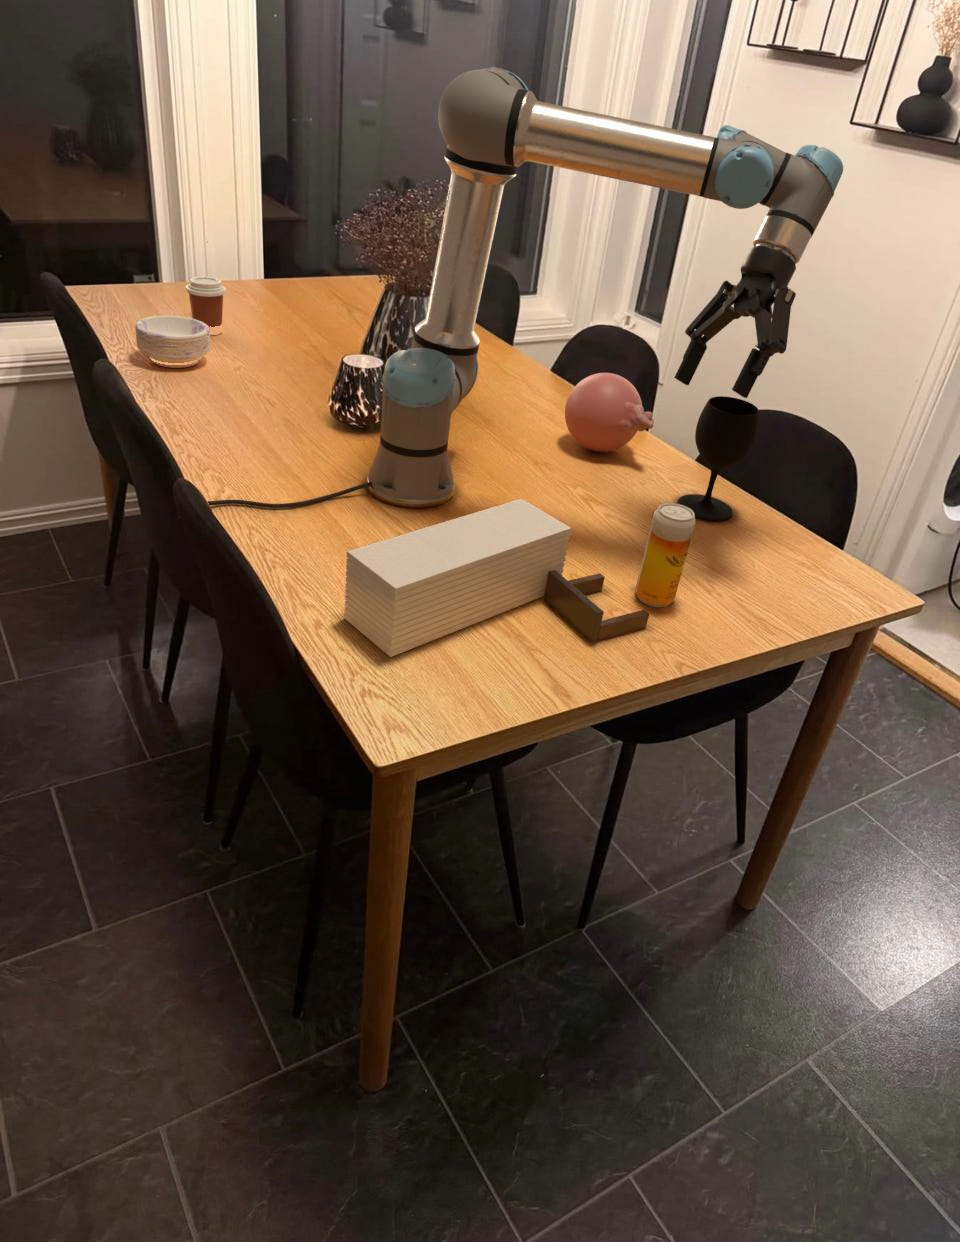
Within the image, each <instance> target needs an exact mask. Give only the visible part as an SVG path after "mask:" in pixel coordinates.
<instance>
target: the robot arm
mask: <svg viewBox="0 0 960 1242" xmlns="http://www.w3.org/2000/svg"><path fill="white" fill-rule="evenodd" d="M437 111H438V112H437V121H438V127H439V131H440V133H441V136H442V137H443V140H444V142H445V143H446V149H445V154H444V160H445V162H446V163H447V165H448V167H449V168H450V171H451V175H450V182H449V187H448V192H447V197H446V203H445V208H444V214H443V218H442V219H443V221H442V225H441V231H440V236H439V242H438V247H437V253H436V259H435V264H434V270H433V275H432V279H431V280H432V281H431V285H430V291H429V297H428V301H427V309H426V314H425V318H424V319H423V320H421V321H420V322H418V323H417V324H416V325H415V326H414V330H413V331H414V332H413V336H412V342H411V343H412V344H411V347H410V348H407V350H405V349H401V350H398V351H396V352H394V353H393V354H391V355H390V356H389V358H387V360H386V361H385V365H384V371H383V374H382V381H381V384H382V399H381V417H380V419H381V420H380V422H381V423H380V435H379V436H380V438H379V446H378V449H377V451H376V453H375V456H374V457H373V460H372V463H371V465H370V468H369V470H368V474H367V479H366V480H367V481H366V482H365V483H362V484H359V485H355V486H352V487H349V488H345V489H343V490H340V491H337V492H334V493H329V494H326V495H322V496H318V497H315V498H311V499H306V500H302V501H301V500H300V501H296V502H286V503H269V502H268V503H267V502H261V501H260V502H259V501H253V500H244V499H219V500H207V501H208V503H209V506H220V505H245V506H252V507H259V508H266V509H267V508H268V509H285V508H286V509H287V508H296V507H302V506H307V505H312V504H315V503H320V502H323V501H327V500H330V499H334V498H338V497H341V496H343V495H346V494H350V493H352V492H355V491H360V490H362V489H365V488H367V490H368V492H369V493H370V494H371V495H372V496H373V497H374V498H376V499H378V500H380V501H381V502H384V503H386V504H389V505H392V506H397V507H400V508H401V507H402V508H409V509H410V508H411V509H426V508H433V507H437V506H440V505H443V504H445V503H447V502H448V501H449V500H450V499H451V498H452V497H453V495H454V490H455V478H454V474H453V471H452V466H451V462H450V458H449V453H448V449H449V447H448V445H449V438H450V437H449V436H450V429H451V419H452V415H453V412H454V411H455V410H456V409H457V408H458V406H459V405H460V404H461V402H462V401H463V400H464V399H465V398H466V397H467V396H468V395H469V393H470V392H472V389H473V388H474V386H475V384H476V382H477V378H478V373H479V360H478V352H479V348H480V344H481V343H480V342H481V340H480V337H479V335H478V334H477V333H476V331H475V325H476V321H477V316H478V311H479V306H480V302H481V297H482V293H483V288H484V283H485V278H486V274H487V269H488V264H489V260H490V254H491V249H492V246H493V241H494V236H495V231H496V226H497V221H498V217H499V212H500V207H501V203H502V198H503V194H504V188H505V185H506V184H507V183H508V182H510V181H511V180H512V179H514V178H516V176H517V173H518V169H519V167H520V166H521V165H523V164H525V162H531V163H536V164H541V165H545V166H546V165H547V166H551V167H555V168H559V169H565V170H570V171H574V172H578V173H579V172H580V173H585V174H589V175H595V176H599V177H605V178H609V179H613V180H614V179H615V180H619V181H624V182H629V183H633V184H639V185H643V186H649V187H652V188H653V187H654V188H657V189H663V190H668V191H673V192H677V193H681V194H687V195H691V196H696V197H701V198H704V199H708V200H713V201H717V202H721V203H723V204H724V205H726V206H727V207H729V208H733V209H735V210H736V209H737V210H745V209H749V208H752V207H754V206H756V205H759V204H760V205H762V206H765V207H767V208H768V212H767V213H766V215H765V217H764V219H763V221H762V223H761V225H760V227H759V229H758V231H757V233H756V234H755V237H754V239H753V241H752V245H753V246H752V247H751V248H749V250H748V252H747V254H746V256H745V258H744V260H743V262H742V264H741V266H740V273H741V278H740V280H739V282H737V284H733V283H731V282H729V281H728V280H724V281H723V282H722V284H721V285H720V287H719V288H718V290H717V292H716V294H714V296H713V297H712V298H711V300H709V302H708V303H707V304H706V305H705V307H704V308H703V309H702V310H701V311H700V312H699V314H698V315H697V316H696V317H695V318H694V319H693V320H692V322H690V324H689V325H688V326H687V327H686V329H685V331H684V333H685V335H687V336H688V337H689V338H690V341H689V343H688V345H687V348H686V349H685V352H684V353H683V356H682V360H681V363H680V365H679V367H678V369H677V371H676V373H675V375H674V377H673V378H674V379H676V380H677V381H679V382H680V383H682V384H684V385H685V386H689V385H690V383H691V381H692V379H693V377H694V375H695V374H696V372H697V369H698V367H699V365H700V363H701V361H702V359H703V357H704V355H705V353H706V351H707V349H708V345H707V343H708V342H709V341H710V340H711V339H713V338H714V337H715V336H716V335H717V334H718V333H720V332H721V331H722V330H724V328H726V327H727V326H728V325H729V324H730V323H731V322H733V321H734V320H739V319H740V318H742V317H743V318H747V317H752V318H753V319H754V325H755V330H756V331H755V333H756V334H755V335H756V342H757V343H756V344H755V345H754V348H753V347H752V348H751V351H750V352H749V354H748V356H747V358H746V361H745V362H744V365H743V366H742V368H741V370H740V372H739V374H738V376H737V378H736V381H735V382H734V384H733V386H732V388H731V391H734V393H736V394H737V395H739V396H740V397H742V398H744V399H747V398H748V397H749V395H750V393H751V391H752V389H753V387H754V385H755V383H756V381H757V380H758V377H760V376H761V375H762V374H763V372H764V371H765V368H766V365H767V363H768V362H769V360H770V358H771V357H773V356H774V355H775V354H780V355H782V354H784V353H785V352H787V346H788V337H789V328H790V320H791V311H792V306H793V303H794V301H795V298H796V296H797V293H796V292H795V291H794V290H792V289H791V288H790V286H789V284H790V282H791V280H792V278H793V276H794V275H795V272H796V270H797V265H796V264H799V263H800V261H801V259H802V258H803V255H804V253H805V252H806V250H807V248H808V246H809V244H810V241H811V239H812V237H813V235H814V234H815V232H816V229H817V228H818V226H819V223H820V222H821V220H822V218H823V217H824V214H825V212H826V210H827V209H828V206H829V204H830V202H831V201H832V199H833V197H834V196H835V192H836V189H837V187H838V184H839V182H840V180H841V178H842V176H843V173H844V164H843V161H842V159H841V158H840V156H838V155H837V154H836V153H835V152H834V151H832V150H831V149H828V148H826V147H824V146H821V147H820V146H818V145H815V144H806V145H803V146H801V147H800V148H799V149H798V151H797V152H796V153H794V154H792V153H789V152H785V151H783V150H781V149H780V148H778V147H776V146H773V145H772V144H770V143H768V142H766V141H764V140H762V139H760V138H758V137H756V136H754V135H752V134H750V133H749V132H747V131H746V130H743V129H739V128H736V127H734V126H732V125H729V124H724V125H722V126H721V127H720V128H719V130H718V132H717V134H716V136H712V135H711V136H710V135H706V134H701V133H696V132H691V131H686V130H682V129H676V128H671V127H666V126H662V125H657V124H651V123H647V122H642V121H637V120H633V119H628V118H622V117H618V116H613V115H608V114H604V113H599V112H593V111H588V110H583V109H579V108H574V107H569V106H564V105H559V104H554V103H550V102H545V101H540V100H538V99H537V98H536V96H535V94H534V92H533V91H531V90H529V88H528V87H527V84H526V83H525V82H524V81H523V80H522V79H521V78H520V77H519V76H518V75H516V74H515V73H514V72H512V71H509V70H507V69H503V68H502V67H495V66H489V67H484V68H482V69H473V70H469V71H464V72H462V73H461V74H459V75H458V76H456V77H455V78H453V80H451V81H450V82H449V83H448V84H447V86H446V88H445V89H444V90H443V92H442V95H441V97H440V99H439V105H438V110H437ZM772 306H773V307H772ZM178 519H179V520H181V519H180V516H179V517H178Z"/></svg>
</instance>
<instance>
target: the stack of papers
mask: <svg viewBox="0 0 960 1242" xmlns="http://www.w3.org/2000/svg"><path fill="white" fill-rule="evenodd" d="M571 532H572V527H571V526H568V525H567V524H566V523H563V522H562V521H561V520H559V519H557V518H555V517H553V515H550V514H548V513H547V512H545V511H543V510H542V509H540V508H538V507H536V505H533V504H531V503H530V502H528V501H527V500H525V499H523V498H518V499H515V500H512V501H508V502H505V503H502V504H499V505H495V506H491V507H489V508H486V509H482V510H479V511H475V512H472V513H469V514H466V515H462V516H459V517H456V518H453V519H450V520H446V521H442V522H439V523H437V524H433V525H430V526H426V527H423V528H419V529H417V530H416V529H415V530H413V531H409V532H406V533H403V534H399V535H397V536H393V537H390V538H387V539H383V540H379V541H376V542H373V543H370V544H366V545H363V546H360V547H357V548H353V549H350V550H347V551H346V563H345V564H346V565H345V566H346V567H345V568H346V571H345V576H346V577H345V589H344V590H345V591H344V592H345V593H344V594H345V595H344V600H345V601H344V606H345V607H344V616H343V619H344V620H346V621H347V622H348V623H349V624H350V625H352V627H354V628H355V629H356V630H358V631H359V632H360V633H361V634H362V635H364V636H365V638H367V639H368V640H369V641H370V642H372V644H374V645H375V646H377V647H378V648H379V649H380V650H381V651H382V652H384V653H385V654H386V655H387V656H389V658H392V657H394V656H397V655H400V654H402V653H405V652H407V651H409V650H412V649H414V648H417V647H420V646H423V645H425V644H427V643H429V642H433V641H435V640H438V639H440V638H442V637H445V636H447V635H450V634H452V633H455V632H457V631H459V630H460V631H461V630H463V629H466V628H468V627H470V626H473V625H475V624H478V623H480V622H482V621H483V622H484V621H485V620H488V619H490V618H492V617H495V616H497V615H500V614H503V613H505V612H507V611H510V610H513V609H515V608H517V607H520V606H522V605H525V604H528V603H530V602H533V601H536V600H537V599H540V598H544V594H545V588H546V583H547V577H548V572H549V571H552V570H556V571H557V572H558V573H559V574H560V575H562V576H563V573H564V567H565V562H566V559H567V558H566V556H567V552H568V548H569V547H568V545H569V544H570V543H569V542H570V537H571Z"/></svg>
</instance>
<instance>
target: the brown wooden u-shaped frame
mask: <svg viewBox="0 0 960 1242" xmlns="http://www.w3.org/2000/svg"><path fill="white" fill-rule="evenodd" d="M604 582H605V576H604V574H602V573H596V574H590V575H586V576H582V577H577V578H574V579H569V580H568V579H567V578H565V577H564V576H563V574H562V575H560V574H559V573H558V572H557V571H556V570H552V571H549V572H548V577H547V583H546V588H545V594H544V596H543V601H544V602H545V603H547V605H548V606H550V607H551V608H552V609H553V610H554V611H555V612H556V613H557V614H558V615H559V616H561V617H562V618H563V619H564V620H565V621H566V622H567V623H568V624H569V625H571V626H572V628H574V629H575V630H576V632H578V633H579V634H581V636H583V638H585V639H586V641H588V642H589V643H596V642H599V641H602V640H605V639H609V638H613V637H617V636H620V635H624V634H627V633H632V632H634V631H638V630H643V629H646V628H647V625H648V621H649V617H650V613H649V612H648V611H647V610H646V609H641V610H637V611H633V612H629V613H626V614H622V615H618V616H613V617H609V618H607V619H603V616H604V610H603V609H601V608H600V607H599V606H597V604H595V603H594V601H592V600H591V599H590V598H588V597H587V596H586V595H590V594H594V593H597V592H602V591H603V587H604V584H605V583H604Z"/></svg>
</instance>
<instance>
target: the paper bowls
mask: <svg viewBox="0 0 960 1242" xmlns="http://www.w3.org/2000/svg"><path fill="white" fill-rule="evenodd" d="M135 338H136V346H137V348H138V350H139V351H141V352H142V353H144V354H146V355H147V357H148V356H149V357H151V358H153V359H155V360H158V361H161V362H168V363H184V362H190V361H194V360H197V359H199V358H200V357H201V358H202V357H203V356H206V355H207V354H208V353H209V352H210V350H211V336H210V329H209V327H208V326H207V325H206V324H205V323H203V322H201V321H199V320H196V319H192V317H187V316H180V315H153V316H152V315H151V316H148V317H144V318H140V319H139V320H138V321H136V323H135ZM149 357H148V359H149V360H150V361H151V362H152V363H153V364H155V365H157V366H160V367H164V368H170V369H183V368H189V367H192V366H193V367H194V366H195V365H197V364H198V363H199V362H200V360H199V361H197V362H195V363H192V364H187V365H165V364H160V363H157V362H154V361H152V360H151V359H150V358H149ZM201 358H200V359H201Z"/></svg>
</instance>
